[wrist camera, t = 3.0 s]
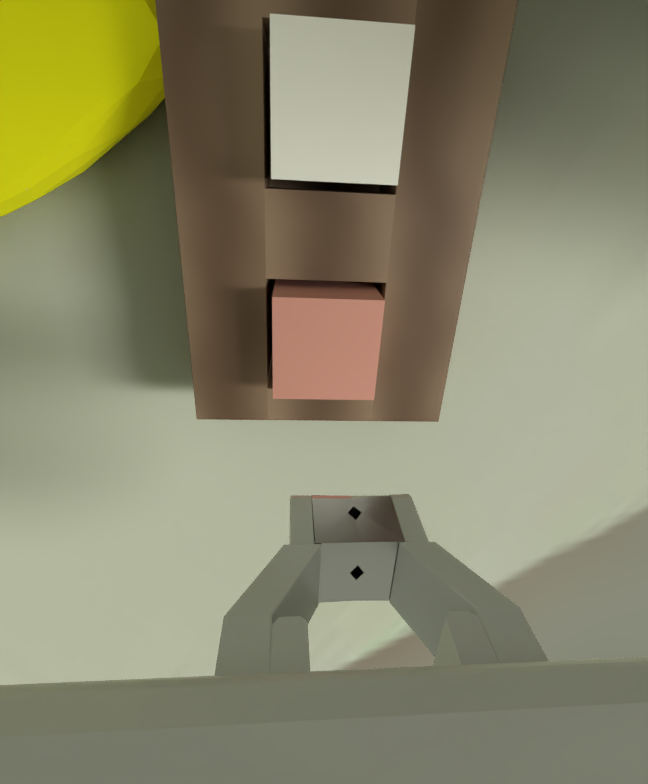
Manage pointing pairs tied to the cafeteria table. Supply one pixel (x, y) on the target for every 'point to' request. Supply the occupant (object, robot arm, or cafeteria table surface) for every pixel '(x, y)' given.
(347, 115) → the white key
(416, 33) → the key panel
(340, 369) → the brick key
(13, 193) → the spray bottle
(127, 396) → the cafeteria table surface
